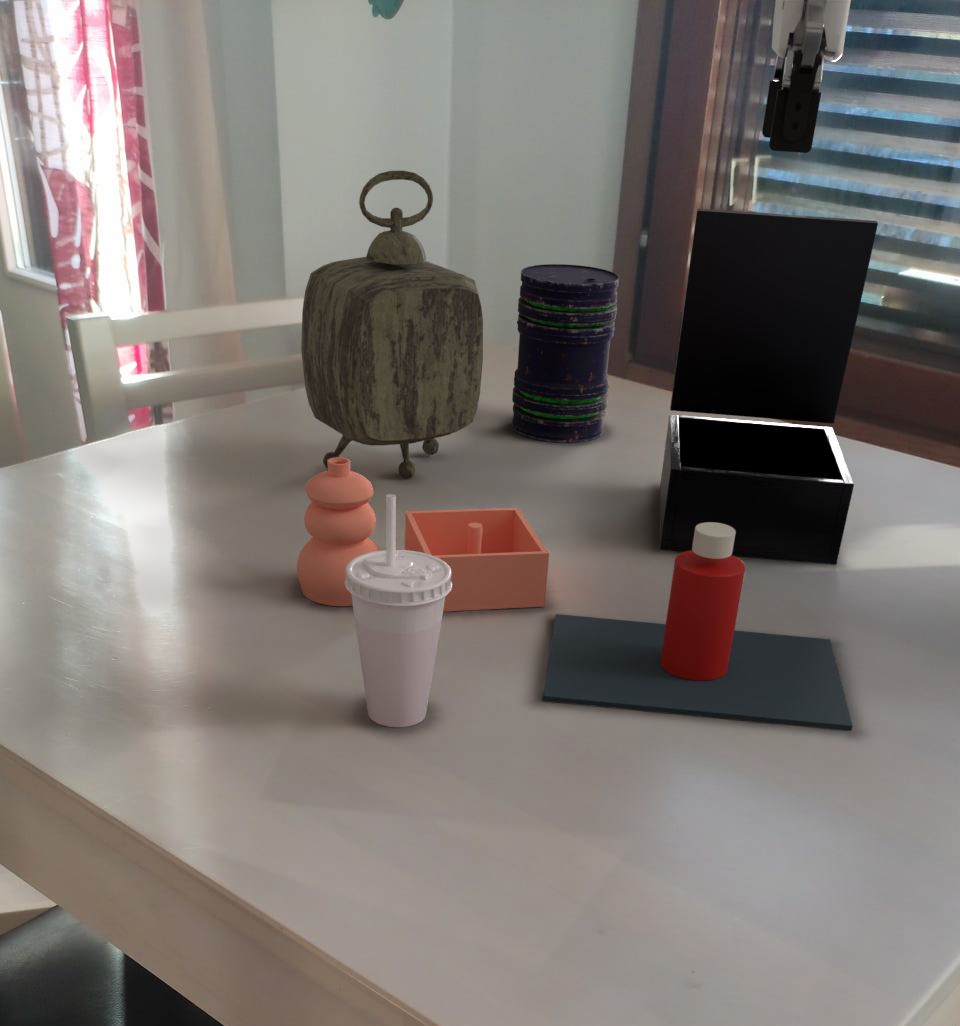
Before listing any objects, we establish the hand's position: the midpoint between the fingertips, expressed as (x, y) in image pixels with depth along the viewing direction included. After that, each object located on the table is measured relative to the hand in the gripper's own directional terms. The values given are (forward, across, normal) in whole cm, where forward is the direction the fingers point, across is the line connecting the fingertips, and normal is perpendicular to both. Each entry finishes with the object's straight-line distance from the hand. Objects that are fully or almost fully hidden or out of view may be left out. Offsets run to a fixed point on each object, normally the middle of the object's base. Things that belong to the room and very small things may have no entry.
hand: (784, 144), depth 101 cm
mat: (+28, -38, +4) cm, 47 cm away
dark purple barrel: (+29, +16, +17) cm, 37 cm away
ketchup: (+28, -38, +4) cm, 47 cm away
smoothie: (+29, -48, +22) cm, 60 cm away
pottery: (+29, -28, +25) cm, 47 cm away
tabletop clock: (+29, -2, +31) cm, 42 cm away
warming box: (+29, -8, -1) cm, 30 cm away
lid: (+13, -1, -1) cm, 13 cm away
